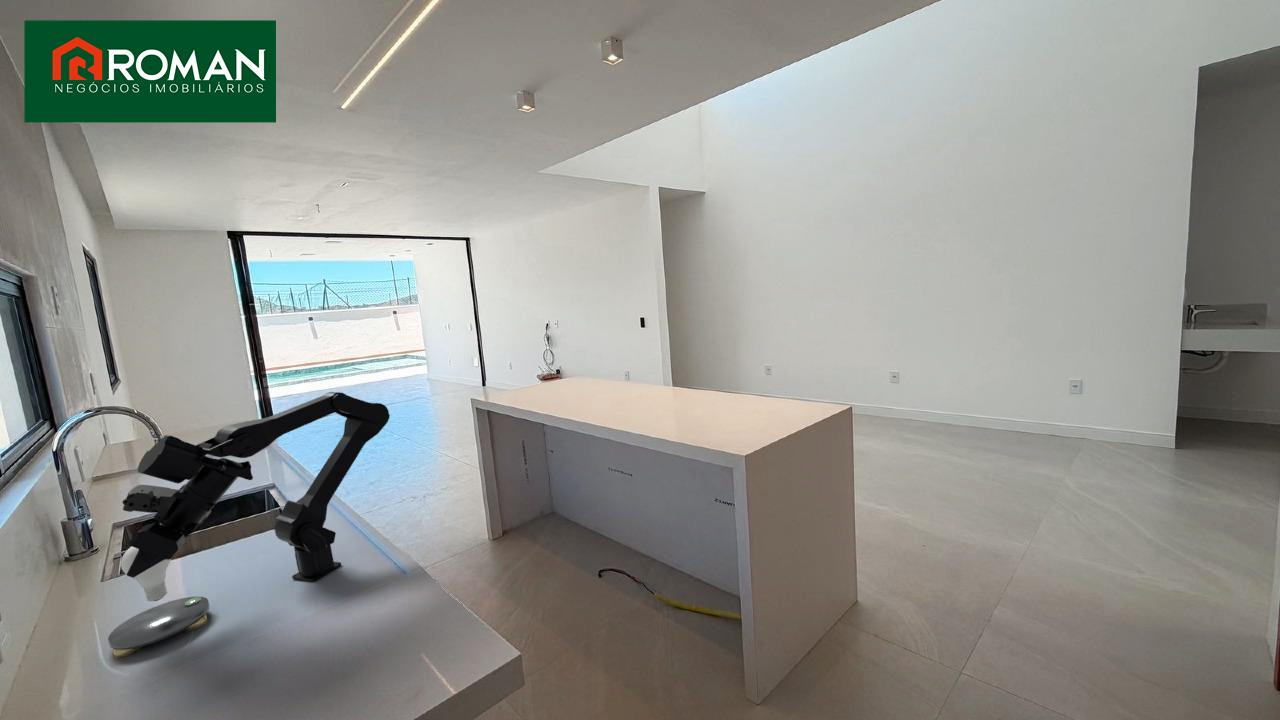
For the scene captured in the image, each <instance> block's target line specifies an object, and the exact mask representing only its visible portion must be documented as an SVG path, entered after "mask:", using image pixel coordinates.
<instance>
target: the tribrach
mask: <svg viewBox="0 0 1280 720" xmlns="http://www.w3.org/2000/svg"><path fill="white" fill-rule="evenodd" d="M209 609H210V602H209V599H208V598H207V597H204V596H189V597H188V596H187V597H182V598H177V599H175V600H170V601H168V602H163V603H162V604H159V605H155V606H154V607H150V608H149V609H146V610H144V611H142V612H140V613H138V614H136V615H134V616H132V617H130V618H128V619H127V620H125V621H123V622H122V623H121V624H119V625H118V626H116V628H114V629H113V630H112V632H110V633H109V635H108V639H107V640H108V644H109V647H110V648H111V649H112V651H113V655H114V658H115V659H121V658H122V659H123V658H126V657H128V656H131V655H132V654H134V653H137V651H139V650H141V648H142V647H145V646H148V645H151V644H152V645H153V644H155V643H158V642H160V641H162V640H165V639H167V638H170V637H172V636H174V635H176V634H179V633H181V632H183V631H184V632H187V633H188V632H193V631H196V630H198V629H200V628H202V627H204V626H206V624H208V623H209V622H208V617H207V613H208V611H209Z"/></svg>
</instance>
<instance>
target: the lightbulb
mask: <svg viewBox="0 0 1280 720" xmlns="http://www.w3.org/2000/svg"><path fill="white" fill-rule="evenodd" d="M138 551H139V549H137V548H135V547H132V546H130V547H129V548H128V549H127V550H126V551H125V552H124V553H123V556H122V558H121V561H120V567H121V570H122V572H123V573H124V574H126V576H127V573H128V571H129V569H130V567H131V565H132V563H133V561H134V559H135V557H136V555H137V553H138ZM171 560H172V558H171V559H169V560H163V561H161V562H160V563H158V564H156V565H154V566H153V567H151V568H149V569H147V570H146V571H144V572H142V573H141V574H139V575H137V576H135V577H134V578H132V577H130V578H132V579H133V580H136V582H137V583H138V584H139V586H140V587H141V588H142V589H143V591H144V593H145V594H144V595H145V597H146V601H147V602H159V601H160V600H162V599H163V598H164V597H165V596H166V595H167V594H168V593H169V592H168V589H167V585H166V582H165V581H166V576H167V575H166V574H167V570H168V569H167V568H168V567H169V565H170V564H171Z"/></svg>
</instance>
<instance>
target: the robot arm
mask: <svg viewBox="0 0 1280 720" xmlns="http://www.w3.org/2000/svg"><path fill="white" fill-rule="evenodd" d="M332 414H337V415H338V416H341V417H343V418H345V420H344V428H343V435H342V436H341V438H340V439H339V441H338V443H337V444H336V446H335V447H334V449H333V451H332V452H331V454H330V455H329V456H328V458H327V460H326V461H325V463H324V465H323V466H322V468H321V470H319V472H318V474H317V476H316V477H315V478H314V480H313V481H312V483H311V485H310V486H309V488H308V490H306V492H305V494H303V496H302V497H300V498H299V499H298V500H297V501H293V500H288V501H286V503H285V505H284V507H283V509H282V510H281V512H280V513H279V514H278V515H277V516H276V517H275V518H274V519H275V520H276V523H275V524H274V525H275V526H274V529H273V530H274V533H275V536H276V538H277V539H279V540H280V541H282V542H285V543H287V544H288V545H289V546H291V547H293V548H294V556H295V561H296V567H297V571H298V572H297V573H295V574H293V575H291V577H292V578H291V579H294V580H300V581H308V582H316V581H318V580H319V579H321V578H323V577H324V576H326V575H327V574H330V573H331V572H333V571H334V570H335V569H337V568H340V567H341V566H342V562H339V561H334V557H333V552H332V551H333V550H332V546H331V545H333V544H334V543H335V540H336V531H333V530H331V529H329V528H326V527H324V525H325V522H326V520H327V513H328V506H329V503H330V502H331V500H332V499H333V496H335V494H336V491H337V490H338V488H339V486H340V485H341V484H342V482H343V481H344V479H345V477H346V475H347V474H348V472H349V470H350V469H351V467H352V466H353V464H354V462H355V461H356V459H357V457H359V454H360V452H361V451H362V449H363V448H364V446H365V445H366V443H367V442H369V441H370V440H372V439H374V437H376V436H377V435H379V433H380V432H381V431H382V429H384V427H386V426H387V424H388V422H389V421H390V417H391V415H390V413H389V409H388V407H387V406H386V405H385V404H383V403H380V402H368V401H365V400H362V399H359V398H357V397H353V396H351V395H348V394H346V393H344V392H339V391H337V392H335V391H329V392H326V393H324V394H323V395H321V396H319V397H316V398H314V399H312V400H308V401H306V402H303V403H300V404H298V405H295V406H293V407H290V408H288V409H285V410H283V411H281V412H278V413H276V414H273V415H271V416H268V417H264V418H259V419H254V420H253V419H252V420H247V421H243V422H238V423H237V422H236V423H233V424H229V425H226V426H223V427H221V428H220V429H218V430H217V432H216V434H215V436H213V437H210V438H208V439H206V440H203V441H202V442H199V443H197V444H193V443H190V442H186V441H184V440H181V438H178V437H176V436H173V435H170V434H165V435H164V436H163V437H162V439H161V440H160V441H158V442H156V443H155V444H154V445H153V446H152V447H151V448H150V449H149V450H147V451H146V452H145V453H144V454H143V456H142V458H141V460H140V462H139V463H138V465H137V473H138V474H143V475H146V476H149V477H153V478H156V479H160V480H164V481H167V482H170V483H175V484H177V485H178V484H181V483H182V482H184V481H185V480H187V483H184V484H183V485H182V486H181V487H180V488H179V489H175V488H171V487H166V486H157V485H151V484H150V485H149V484H138V485H135V486H134V487H133V488H131V489H130V490H129V491H128V493H127V495H126V498H124V499H123V501H122V504H123V508H122V510H123V511H124V512H129V513H133V512H141V513H150V514H155V515H154V516H153V518H154V519H156V520H158V523H157V522H153V523H149V524H145V525H143V527H142V528H140V529H139V530H138V531H137V532H136V533H135V534H134V535H133V537H131V538H130V540H129V541H128V545H129V546H130V547H131V546H132V547H135V548H137V549H139V551H138V553H137V555H136V557H135V559H134V561H133V563H132V565H131V567H130V569H129V571H128V573H127V575H126V576H127V577H130V578H131V577H132V579H133V578H134V577H135V576H137V575H139V574H141V573H142V572H144V571H146V570H147V569H149V568H151V567H153V566H154V565H156V564H158V563H160V562H161V561H163V560H169V559H171V560H172V558H173V557H174V556H175V555H176V553H178V551H179V550H180V549H181V548H182V546H183V545H184V544H185V543H186V538H187V537H188V536H190V535H192V534H193V533H194V532H195V531H196V530H197V529H198V528H199V526H201V525H202V523H203V522H204V521H205V520H206V519H207V518H208V517H209V515H210V514H211V513H212V509H213V508H214V507H215V505H216V504H218V502H219V501H220V500H221V499H222V497H223V496H224V495H225V493H226V492H227V491H228V490H229V489H230V488H231V487H232V486H233V484H234V483H235V482H236V481H237V479H238V478H240V479H244V480H248V481H252V480H253V479H254V477H253V474H252V465H251V461H249V460H246V461H242V462H241V461H239V462H238V461H235V460H231V459H228V458H226V457H234V458H238V459H246V458H250V457H253V456H255V455H256V454H258V453H259V452H261V451H263V450H265V449H266V448H267V447H269V446H270V445H272V443H274V442H275V441H276V440H277V439H279V438H280V437H282V436H283V435H286V434H287V433H290V432H292V431H295V430H297V429H299V428H301V427H305V426H306V425H309V424H311V423H313V422H316V421H317V420H321V419H323V418H325V417H327V416H330V415H332ZM206 455H207V456H206ZM209 456H212V457H209ZM213 457H216V458H213ZM217 458H218V459H217Z"/></svg>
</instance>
